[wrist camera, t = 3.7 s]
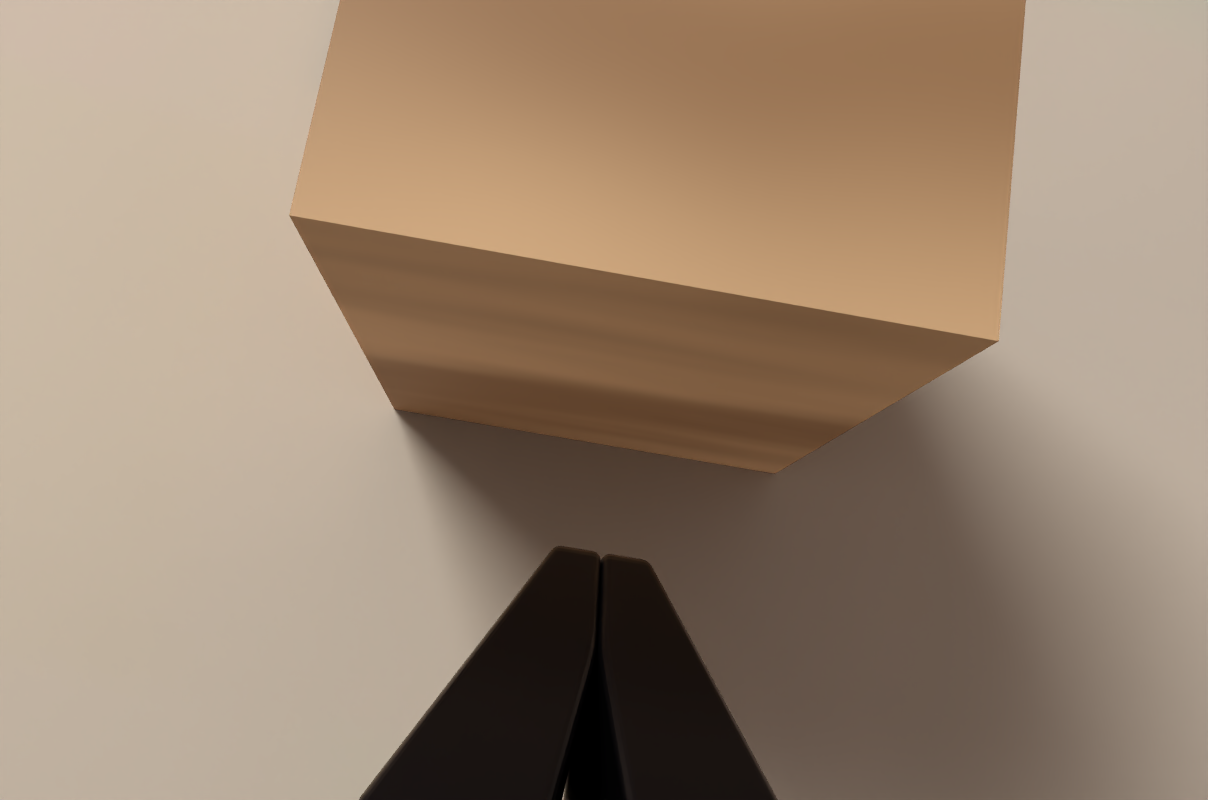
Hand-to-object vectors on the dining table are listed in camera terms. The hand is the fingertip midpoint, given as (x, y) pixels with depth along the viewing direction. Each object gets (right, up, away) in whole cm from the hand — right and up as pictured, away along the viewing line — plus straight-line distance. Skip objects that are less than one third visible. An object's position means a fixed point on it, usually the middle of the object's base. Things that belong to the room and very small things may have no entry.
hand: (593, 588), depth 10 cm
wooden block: (0, +3, +8) cm, 8 cm away
